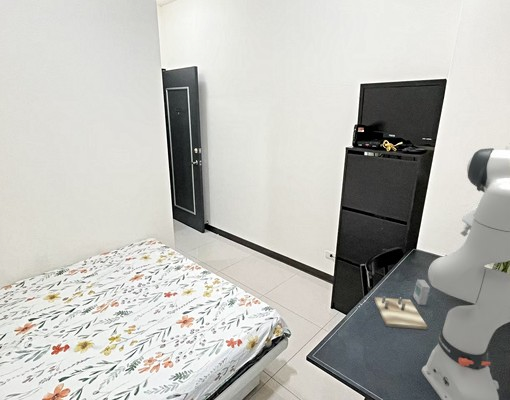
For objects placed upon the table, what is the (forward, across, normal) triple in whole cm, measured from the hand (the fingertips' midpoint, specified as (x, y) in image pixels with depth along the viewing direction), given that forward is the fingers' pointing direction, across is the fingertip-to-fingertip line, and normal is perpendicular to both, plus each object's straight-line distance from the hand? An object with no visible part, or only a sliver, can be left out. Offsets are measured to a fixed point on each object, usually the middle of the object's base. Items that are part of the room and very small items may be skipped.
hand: (469, 240), depth 118 cm
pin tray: (+40, +11, -6) cm, 42 cm away
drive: (+33, +3, +5) cm, 33 cm away
